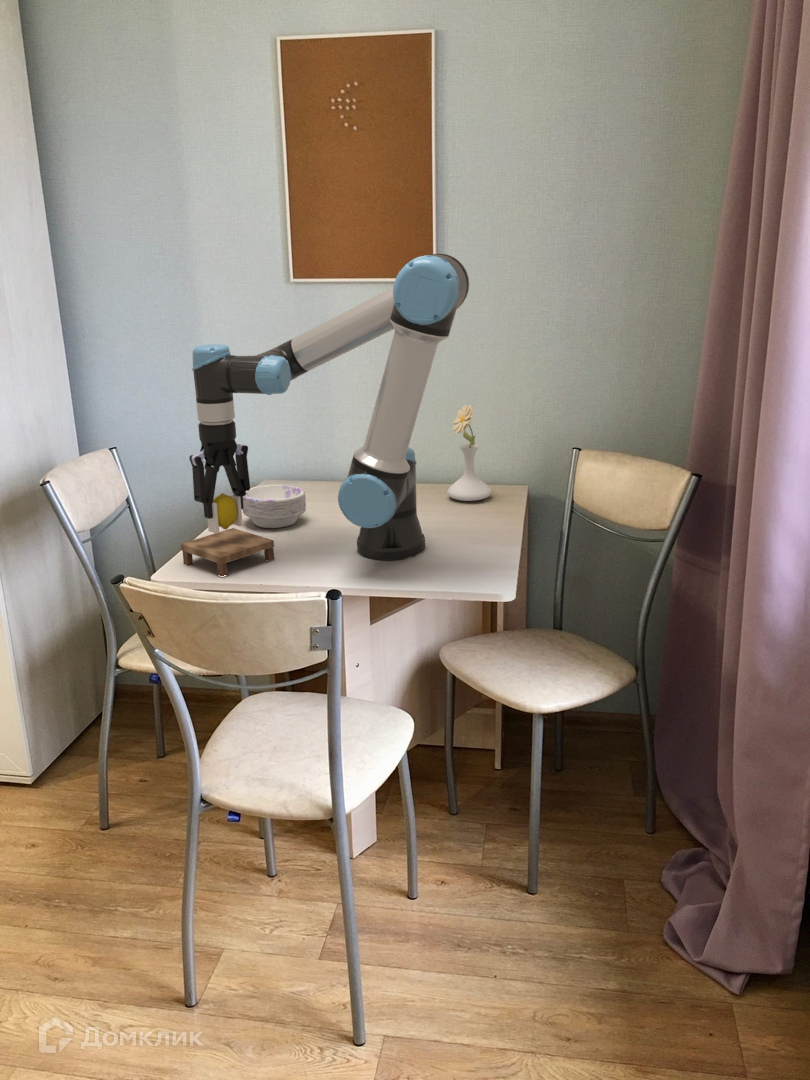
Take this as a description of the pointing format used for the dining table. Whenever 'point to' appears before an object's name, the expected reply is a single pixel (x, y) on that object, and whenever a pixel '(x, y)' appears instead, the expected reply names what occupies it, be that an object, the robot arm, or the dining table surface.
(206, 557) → the footstool
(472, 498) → the flower in vase
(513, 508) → the dining table surface
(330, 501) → the dining table surface
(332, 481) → the dining table surface
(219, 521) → the lemon
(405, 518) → the robot arm
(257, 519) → the paper bowls
